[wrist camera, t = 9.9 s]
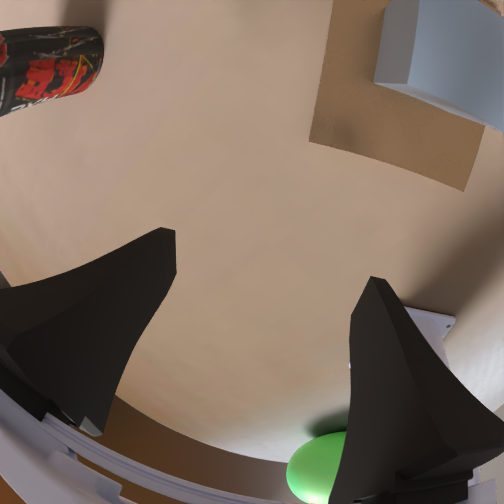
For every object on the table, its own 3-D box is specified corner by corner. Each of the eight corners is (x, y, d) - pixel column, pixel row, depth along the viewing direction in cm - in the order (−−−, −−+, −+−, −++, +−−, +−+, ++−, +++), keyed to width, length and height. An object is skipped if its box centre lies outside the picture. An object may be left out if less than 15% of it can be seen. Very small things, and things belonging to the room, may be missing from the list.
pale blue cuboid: (450, 112, 12) (510, 136, 7) (372, 82, 13) (407, 84, 8) (463, 40, 9) (525, 33, 4) (385, 6, 10) (421, -29, 5)
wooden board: (458, 187, 15) (498, 228, 11) (309, 138, 16) (305, 164, 12) (495, 13, 7) (543, 5, 3) (341, -53, 8) (347, -96, 4)
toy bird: (385, 407, 32) (383, 504, 20) (405, 438, 38) (403, 508, 26) (276, 426, 40) (258, 505, 28) (318, 452, 46) (308, 515, 34)
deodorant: (90, 13, 13) (-86, 34, 1) (114, 65, 15) (-82, 118, 3) (48, 57, 15) (-101, 106, 3) (68, 107, 18) (-87, 181, 6)
